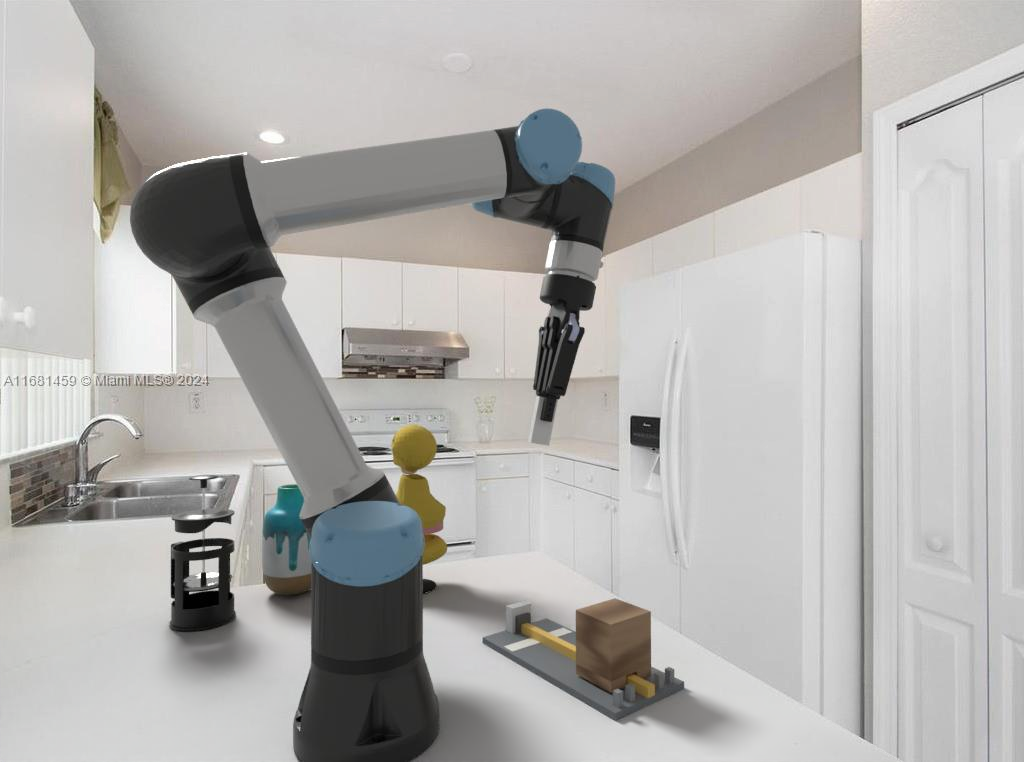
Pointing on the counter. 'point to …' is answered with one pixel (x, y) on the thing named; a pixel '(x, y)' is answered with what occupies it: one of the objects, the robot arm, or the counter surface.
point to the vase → (286, 544)
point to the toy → (419, 488)
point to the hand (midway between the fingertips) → (538, 443)
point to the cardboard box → (613, 643)
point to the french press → (206, 605)
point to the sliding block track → (573, 664)
